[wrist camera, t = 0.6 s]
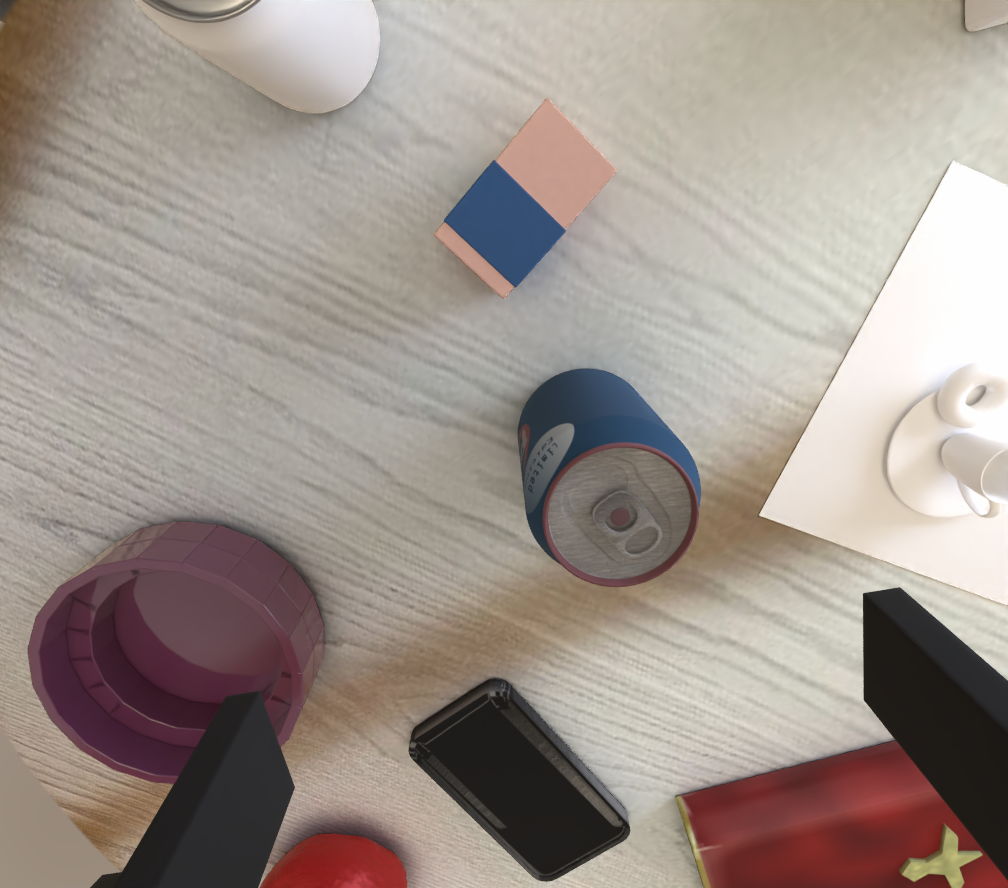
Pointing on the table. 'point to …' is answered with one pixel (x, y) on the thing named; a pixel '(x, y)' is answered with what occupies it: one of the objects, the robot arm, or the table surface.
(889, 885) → the hardcover book
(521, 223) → the eraser
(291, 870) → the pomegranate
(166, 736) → the bowl
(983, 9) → the medicine bottle
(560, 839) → the phone
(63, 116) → the table surface
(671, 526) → the soda can
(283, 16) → the can
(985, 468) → the teacup and saucer
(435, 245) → the table surface
